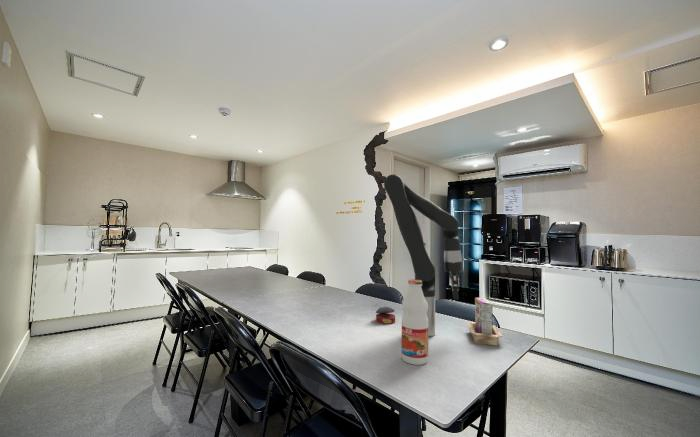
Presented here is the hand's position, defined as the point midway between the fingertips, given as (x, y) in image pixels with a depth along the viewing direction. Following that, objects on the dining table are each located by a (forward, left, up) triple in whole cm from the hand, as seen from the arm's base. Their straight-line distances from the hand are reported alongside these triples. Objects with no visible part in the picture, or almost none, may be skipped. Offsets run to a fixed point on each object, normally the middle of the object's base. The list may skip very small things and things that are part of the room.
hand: (455, 297), depth 127 cm
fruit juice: (-15, -30, -17) cm, 38 cm away
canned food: (-33, +12, -18) cm, 39 cm away
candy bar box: (+12, +3, -17) cm, 21 cm away
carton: (+12, +3, -17) cm, 21 cm away
